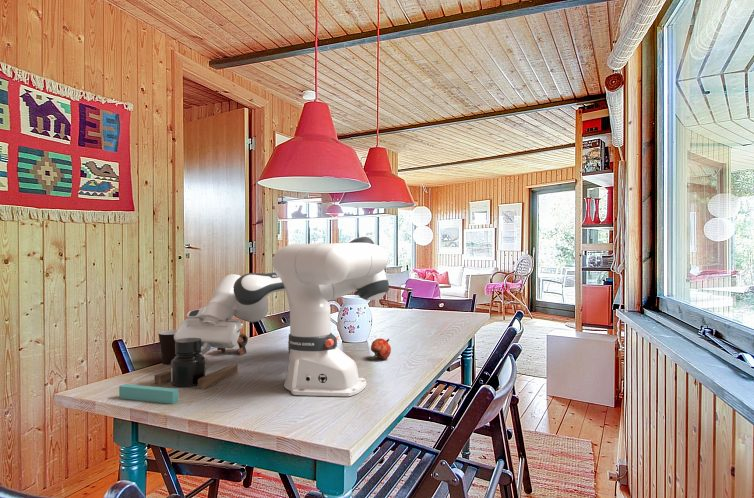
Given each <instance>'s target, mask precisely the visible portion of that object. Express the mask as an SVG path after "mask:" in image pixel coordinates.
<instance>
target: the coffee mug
mask: <svg viewBox="0 0 754 498" xmlns="http://www.w3.org/2000/svg"><path fill="white" fill-rule="evenodd" d="M176 331H177V329H169V330H162V331H160V332H158V340H159V348H160V350H159V351H160V356H161V363H162V364H161V365H165V366H166V365H167V366H168V365H169V366H171V361H172V360H173V359H174V358H175V356H177V355H176V354H175V340H174V335H175V333H176Z"/></svg>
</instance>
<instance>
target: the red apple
mask: <svg viewBox="0 0 754 498" xmlns="http://www.w3.org/2000/svg"><path fill="white" fill-rule="evenodd" d="M389 341H390V338H387V340H386V339H385V338H376V339H375V340H372V343H371V346H370V351H371V352H372V353H374V355H373V356H372V357H371V358H370V359H369V361H372V360H373V359H374V358H375V357H376V358H377V359H381V360H386V359H387V358H389V357H390V356H391V353H392V347H391V345H390V344H389Z"/></svg>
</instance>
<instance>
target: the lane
mask: <svg viewBox="0 0 754 498" xmlns="http://www.w3.org/2000/svg"><path fill="white" fill-rule="evenodd" d="M238 373H239V365H238V364H230V365H227V366H226V367H223V368H221V369H218V370H215V371H213V372H211V373H209V374H207V375H206V374H205V376H204V377H202V378H199V379H198V384H197V389H198V390H199V389H200V390H205V389H207V388H210V387H212V386H214V385H215V384H218V383H220V382H223V381H224V380H226V379H228V378H231V377H232V376H235V375H237V374H238ZM169 382H171V368H170V369H167V370H165V371H162V372H160V373H157V374H155V375H154V385H159V386H161V385H164V384H166V383H169Z"/></svg>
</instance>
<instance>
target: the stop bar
mask: <svg viewBox="0 0 754 498" xmlns="http://www.w3.org/2000/svg"><path fill="white" fill-rule="evenodd" d="M118 391H119V393H118V398H119V399H122V400H123V399H126V400H133V401H142V402H153V403H161V404H168V405H169V404H170V405H173V404H176V403H178V402H179V388H169V387H162V386H161V387H160V386H151V385H141V384H140V385H139V384H132V383H124V384H122V385H119V386H118Z"/></svg>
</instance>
